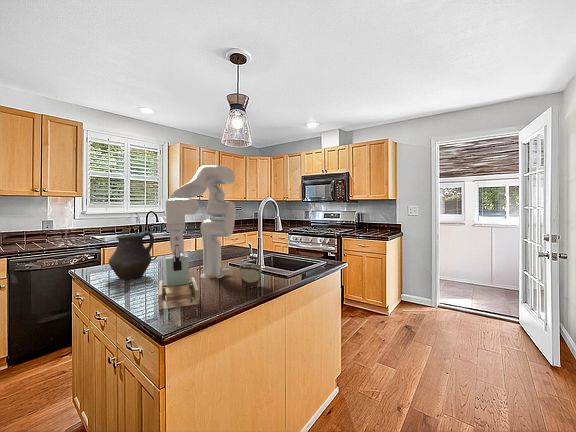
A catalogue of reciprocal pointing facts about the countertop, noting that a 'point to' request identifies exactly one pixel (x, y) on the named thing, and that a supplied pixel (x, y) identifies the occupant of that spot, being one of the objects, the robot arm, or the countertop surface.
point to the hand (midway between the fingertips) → (177, 269)
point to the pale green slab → (177, 272)
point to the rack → (191, 285)
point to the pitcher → (131, 256)
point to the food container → (250, 275)
